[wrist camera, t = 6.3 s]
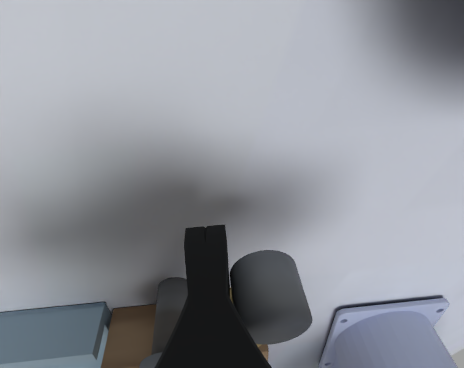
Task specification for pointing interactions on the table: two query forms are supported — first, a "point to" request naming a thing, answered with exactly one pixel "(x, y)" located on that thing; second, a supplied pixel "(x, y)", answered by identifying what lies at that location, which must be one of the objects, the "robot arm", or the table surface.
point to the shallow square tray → (55, 337)
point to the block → (147, 327)
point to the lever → (265, 299)
